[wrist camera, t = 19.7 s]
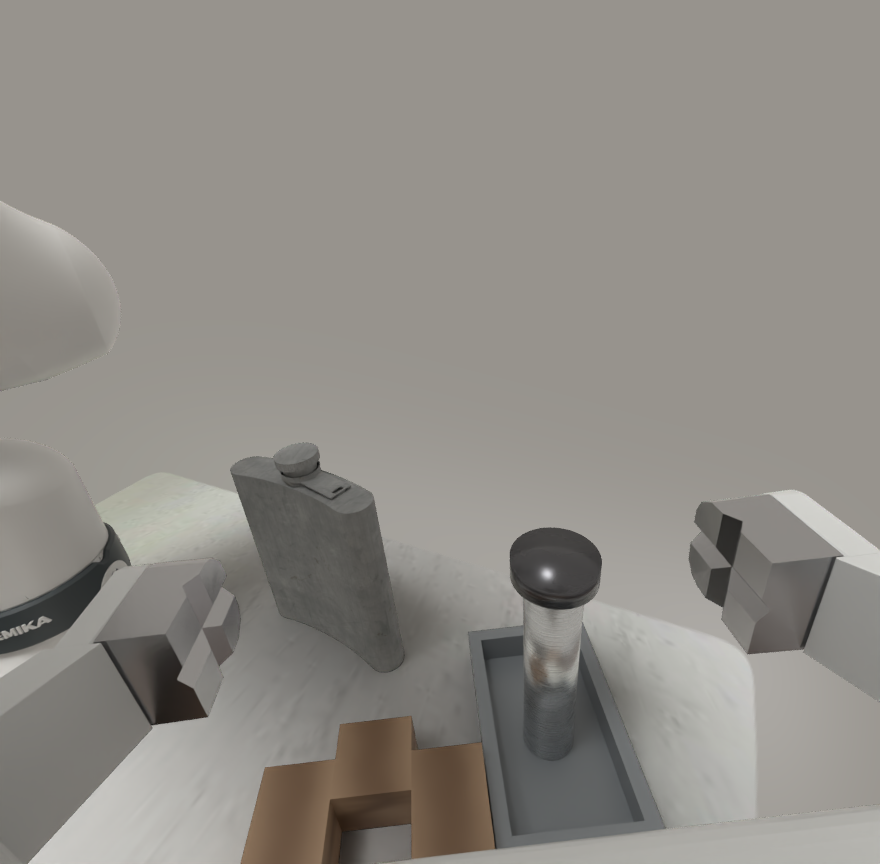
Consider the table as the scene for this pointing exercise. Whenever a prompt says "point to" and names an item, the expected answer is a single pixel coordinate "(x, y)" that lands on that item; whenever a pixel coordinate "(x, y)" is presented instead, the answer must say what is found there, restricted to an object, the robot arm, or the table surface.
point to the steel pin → (552, 630)
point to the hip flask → (322, 551)
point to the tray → (562, 781)
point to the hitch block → (372, 797)
